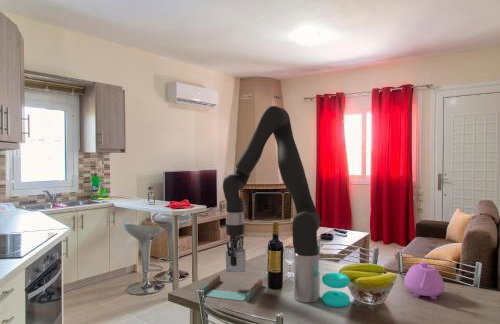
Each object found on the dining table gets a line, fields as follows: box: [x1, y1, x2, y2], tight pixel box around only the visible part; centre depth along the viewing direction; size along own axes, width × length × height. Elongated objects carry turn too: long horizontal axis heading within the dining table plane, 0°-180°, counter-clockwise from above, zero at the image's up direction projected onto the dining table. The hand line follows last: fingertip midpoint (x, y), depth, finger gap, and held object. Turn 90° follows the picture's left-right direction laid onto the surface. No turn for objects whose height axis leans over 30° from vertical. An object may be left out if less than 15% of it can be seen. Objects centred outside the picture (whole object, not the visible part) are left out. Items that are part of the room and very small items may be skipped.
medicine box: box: [225, 248, 247, 273], centre depth 150 cm, size 8×4×9 cm, turn 84°
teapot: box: [403, 261, 445, 301], centre depth 141 cm, size 20×14×12 cm
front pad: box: [203, 288, 247, 302], centre depth 142 cm, size 16×7×1 cm, turn 72°
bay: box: [198, 274, 263, 303], centre depth 147 cm, size 20×18×2 cm
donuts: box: [321, 272, 351, 308], centre depth 134 cm, size 10×10×10 cm
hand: (236, 263), depth 150 cm, fingers closed on medicine box, 5 cm apart
